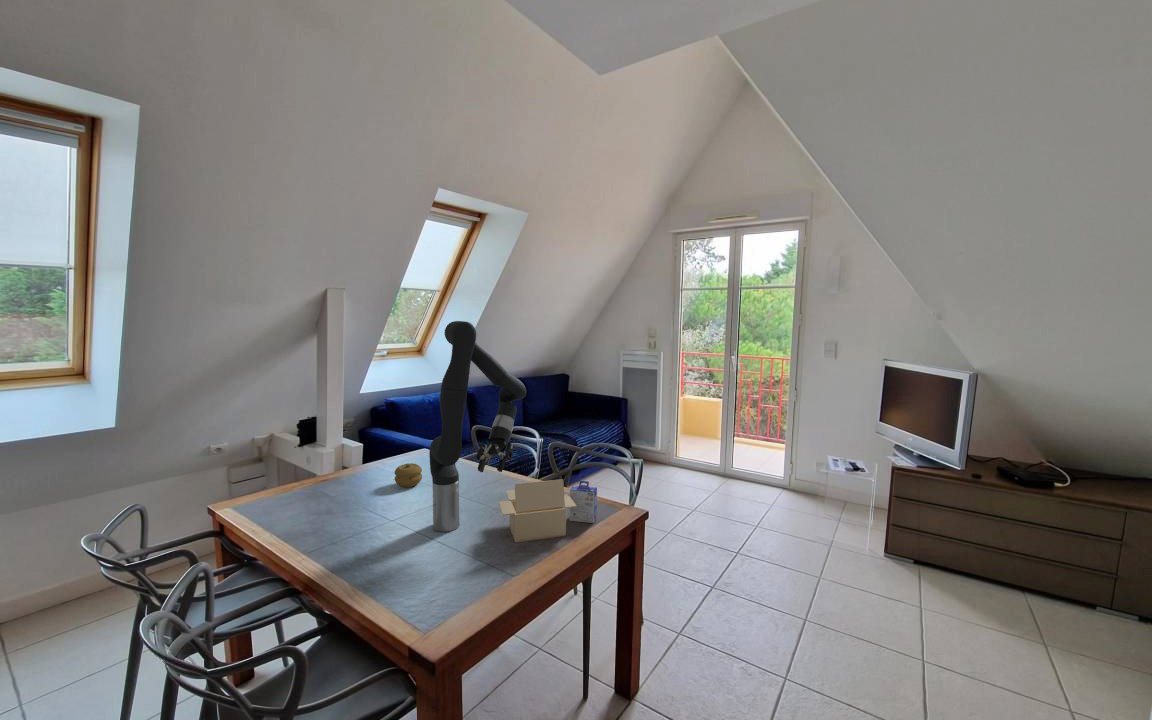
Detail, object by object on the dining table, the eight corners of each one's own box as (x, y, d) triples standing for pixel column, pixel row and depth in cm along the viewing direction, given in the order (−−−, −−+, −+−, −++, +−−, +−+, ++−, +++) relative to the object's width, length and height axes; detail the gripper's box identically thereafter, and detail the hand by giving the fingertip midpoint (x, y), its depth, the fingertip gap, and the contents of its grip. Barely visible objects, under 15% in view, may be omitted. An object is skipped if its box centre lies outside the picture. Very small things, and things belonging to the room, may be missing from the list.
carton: (503, 544, 160) (503, 515, 158) (495, 518, 180) (495, 491, 178) (576, 534, 167) (577, 506, 166) (561, 510, 187) (561, 484, 186)
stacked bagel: (416, 490, 206) (416, 468, 205) (390, 489, 206) (389, 467, 205) (426, 480, 217) (425, 459, 216) (400, 480, 218) (400, 459, 217)
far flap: (515, 511, 160) (516, 512, 160) (514, 483, 162) (514, 484, 161) (564, 506, 165) (564, 506, 165) (563, 479, 167) (563, 479, 166)
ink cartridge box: (597, 517, 181) (597, 481, 180) (594, 523, 176) (595, 486, 174) (572, 514, 183) (572, 478, 182) (568, 521, 178) (569, 484, 176)
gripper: (480, 426, 175) (467, 467, 167) (511, 424, 169) (499, 466, 160) (492, 435, 181) (480, 475, 172) (522, 433, 174) (511, 475, 165)
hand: (489, 471), depth 166 cm, fingers open, 8 cm apart
